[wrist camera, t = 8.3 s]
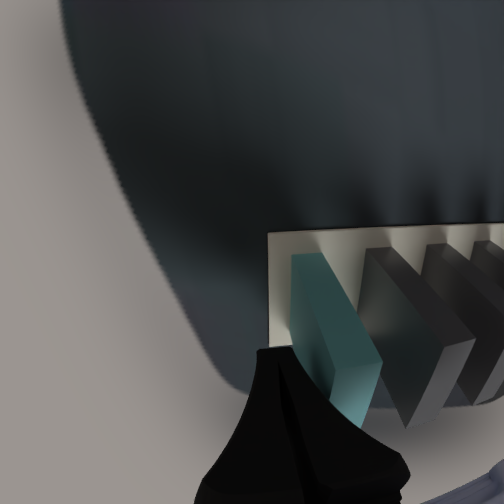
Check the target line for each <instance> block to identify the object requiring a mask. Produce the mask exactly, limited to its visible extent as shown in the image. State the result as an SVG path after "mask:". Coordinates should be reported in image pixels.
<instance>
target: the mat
mask: <svg viewBox="0 0 504 504" xmlns="http://www.w3.org/2000/svg"><path fill="white" fill-rule="evenodd" d="M484 240H491V241H492V242H493V243H495V244H496V245H498V246H499V247H501V248H502V249H503V250H504V223H486V224H450V225H421V226H394V227H370V228H348V229H327V230H307V231H288V232H270V233H268V282H269V347H271V346H282V345H293V344H292V340H291V336H290V299H291V255H293V254H307V253H323V255H324V257H325V258H326V260H327V262H328V263H329V265H330V267H331V269H332V270H333V272H334V274H335V275H336V277H337V279H338V281H339V282H340V284H341V286H342V288H343V289H344V291H345V293H346V295H347V296H348V298H349V300H350V302H351V303H352V305H353V307H354V309H355V311H356V312H357V307H358V301H359V295H360V288H361V281H362V274H363V267H364V259H365V251H366V248H380V247H393V248H394V249H395V250H396V251H397V252H398V253H399V254H400V255H401V256H402V257H403V258H404V259H405V260H406V261H407V262H408V263H409V264H410V265H411V267H412V268H413V269H414V270H415V271H416V272H417V273H418V274H419V275H421V271H422V266H423V261H424V256H425V251H426V246H427V244H440V243H448V244H449V245H450V246H452V247H453V248H454V249H456V250H457V251H458V252H459V253H461V254H462V255H463V256H464V257H465V258H467V259H468V260H469V261H470V257H471V253H472V249H473V245H474V241H484Z"/></svg>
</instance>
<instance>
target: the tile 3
mask: <svg viewBox="0 0 504 504" xmlns="http://www.w3.org/2000/svg"><path fill="white" fill-rule="evenodd" d="M420 276H421V277H422V278H423V279H424V280H425V281H426V282H427V283H428V284H429V285H430V286H431V288H432V289H433V290H434V291H435V292H436V293H437V294H438V295H439V296H440V297H441V298H442V300H443V301H444V302H445V303H446V304H447V305H448V306H449V307H450V308H451V310H452V311H453V312H454V313H455V314H456V315H457V316H458V318H459V319H460V320H461V321H462V322H463V323H464V324H465V326H466V327H467V328H468V329H469V330H470V332H471V333H472V334H473V335H474V336H475V337H476V340H475V342H474V345H473V347H472V349H471V351H470V354H469V356H468V358H467V360H466V362H465V364H464V366H463V369H462V371H461V373H460V375H459V377H458V379H457V381H456V382H457V383H458V385H459V386H460V388H461V389H462V391H463V392H464V394H465V396H466V397H467V399H468V400H469V402H470V403H471V405H472V406H473V405H476V404H478V403H480V402H483V401H485V400H487V399H490V398H492V397H494V395H495V393H496V392H497V390H498V388H499V387H500V385H501V383H502V382H503V380H504V290H503V289H502V288H501V287H500V286H498V285H497V284H496V283H495V282H494V281H493V280H492V279H490V278H489V277H488V276H487V275H486V274H485V273H483V272H482V271H481V270H480V269H479V268H478V267H476V266H475V265H474V264H473V263H472V262H470V261H469V260H468V259H467V258H465V257H464V256H463V255H462V254H461V253H459V252H458V251H457V250H456V249H454V248H453V247H452V246H450V245H449V244H448V243H440V244H427V246H426V251H425V256H424V261H423V266H422V271H421V275H420Z"/></svg>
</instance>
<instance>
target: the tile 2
mask: <svg viewBox="0 0 504 504" xmlns="http://www.w3.org/2000/svg"><path fill="white" fill-rule="evenodd" d="M357 314H358V316H359V318H360V320H361V321H362V323H363V325H364V327H365V329H366V331H367V333H368V334H369V336H370V338H371V340H372V342H373V344H374V346H375V347H376V349H377V351H378V353H379V355H380V357H381V359H382V361H383V364H382V367H381V371H380V375H381V377H382V379H383V381H384V383H385V386H386V388H387V390H388V392H389V394H390V396H391V398H392V400H393V402H394V405H395V407H396V409H397V411H398V413H399V415H400V417H401V420H402V422H403V424H404V426H405V428H406V429H407V428H410V427H414V426H417V425H420V424H423V423H427V422H430V421H433V420H435V418H436V417H437V415H438V413H439V412H440V410H441V408H442V406H443V405H444V403H445V401H446V399H447V398H448V396H449V394H450V392H451V390H452V388H453V386H454V384H455V383H456V381H457V379H458V377H459V375H460V373H461V371H462V369H463V366H464V364H465V362H466V360H467V358H468V356H469V354H470V351H471V349H472V347H473V345H474V342H475V340H476V337H475V336H474V335H473V334H472V333H471V332H470V330H469V329H468V328H467V327H466V326H465V324H464V323H463V322H462V321H461V320H460V319H459V318H458V316H457V315H456V314H455V313H454V312H453V311H452V310H451V308H450V307H449V306H448V305H447V304H446V303H445V302H444V301H443V300H442V298H441V297H440V296H439V295H438V294H437V293H436V292H435V291H434V290H433V289H432V288H431V286H430V285H429V284H428V283H427V282H426V281H425V280H424V279H423V278H422V277H421V276H420V275H419V274H418V273H417V272H416V271H415V270H414V269H413V268H412V267H411V265H410V264H409V263H408V262H407V261H406V260H405V259H404V258H403V257H402V256H401V255H400V254H399V253H398V252H397V251H396V250H395V249H394V248H393V247H380V248H366V251H365V259H364V267H363V274H362V281H361V288H360V295H359V301H358V307H357Z"/></svg>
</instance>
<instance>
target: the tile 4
mask: <svg viewBox="0 0 504 504" xmlns="http://www.w3.org/2000/svg"><path fill="white" fill-rule="evenodd" d="M470 262H472V263H473V264H474V265H475V266H476V267H478V268H479V269H480V270H481V271H482V272H483V273H485V274H486V275H487V276H488V277H489V278H490V279H492V280H493V281H494V282H495V283H496V284H497V285H498V286H500V287H501V288H502V289H503V290H504V250H503V249H502V248H501V247H499V246H498V245H496V244H495V243H493V242H492V241H491V240H484V241H474V245H473V249H472V253H471V257H470Z"/></svg>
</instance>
